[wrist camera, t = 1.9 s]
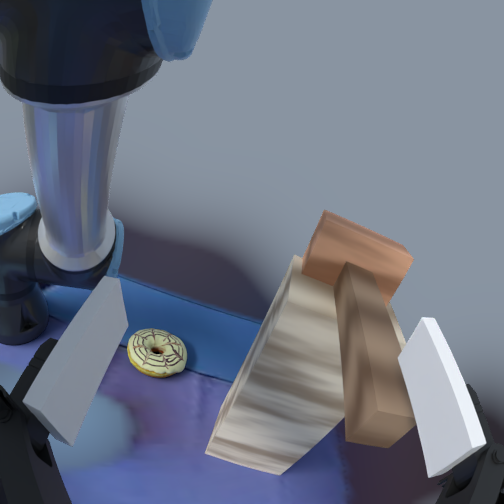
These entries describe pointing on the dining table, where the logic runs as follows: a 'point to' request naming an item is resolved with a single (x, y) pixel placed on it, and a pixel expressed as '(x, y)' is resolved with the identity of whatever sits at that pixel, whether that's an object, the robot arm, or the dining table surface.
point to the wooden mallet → (364, 325)
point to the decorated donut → (157, 364)
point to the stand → (286, 380)
